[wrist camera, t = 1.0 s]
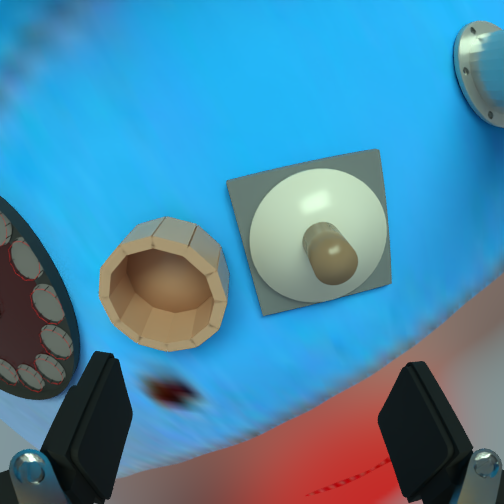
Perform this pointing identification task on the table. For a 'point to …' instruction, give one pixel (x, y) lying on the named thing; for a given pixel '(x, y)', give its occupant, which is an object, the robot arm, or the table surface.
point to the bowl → (166, 285)
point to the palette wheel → (33, 315)
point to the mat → (257, 185)
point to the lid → (317, 235)
